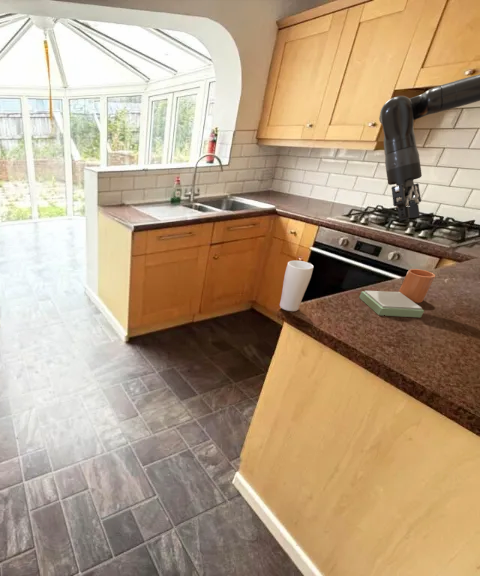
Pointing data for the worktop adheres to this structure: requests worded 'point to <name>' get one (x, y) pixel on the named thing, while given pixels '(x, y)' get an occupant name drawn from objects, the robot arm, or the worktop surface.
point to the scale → (391, 304)
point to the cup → (416, 284)
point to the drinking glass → (295, 284)
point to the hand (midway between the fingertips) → (409, 218)
